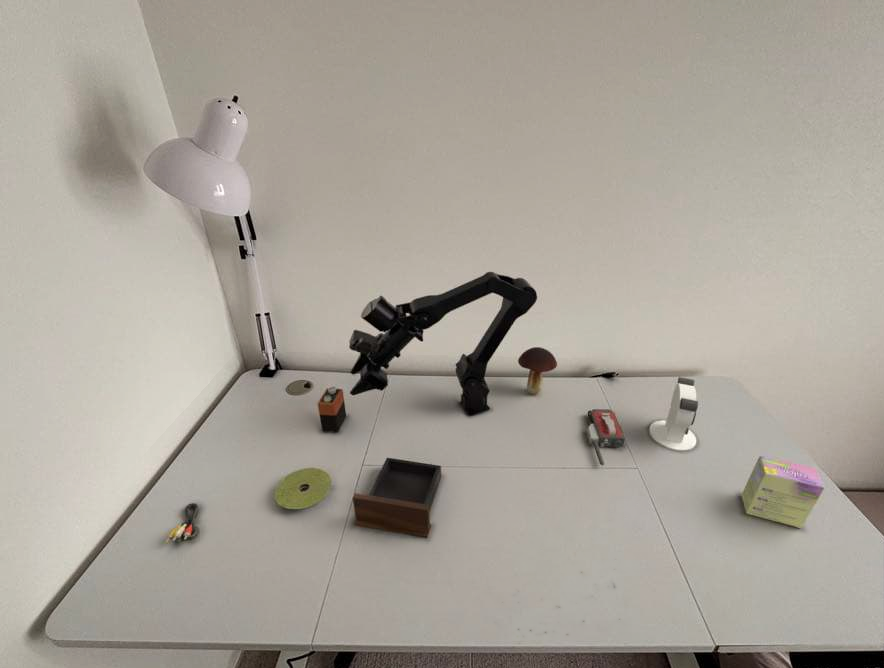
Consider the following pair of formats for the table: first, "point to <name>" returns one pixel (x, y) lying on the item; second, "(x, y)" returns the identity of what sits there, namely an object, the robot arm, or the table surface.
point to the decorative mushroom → (537, 366)
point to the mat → (303, 488)
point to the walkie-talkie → (604, 430)
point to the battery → (332, 409)
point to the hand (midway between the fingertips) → (351, 383)
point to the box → (782, 491)
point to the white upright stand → (678, 419)
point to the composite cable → (185, 526)
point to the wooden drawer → (399, 498)
